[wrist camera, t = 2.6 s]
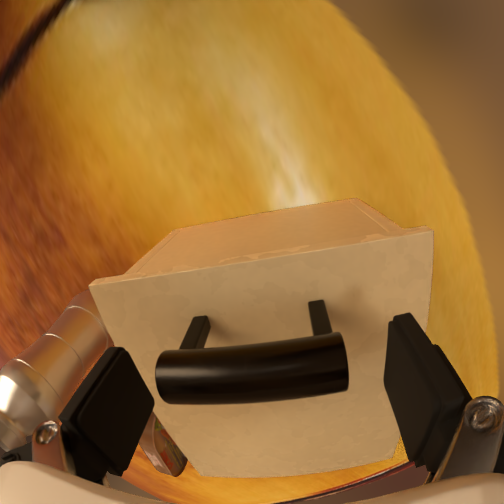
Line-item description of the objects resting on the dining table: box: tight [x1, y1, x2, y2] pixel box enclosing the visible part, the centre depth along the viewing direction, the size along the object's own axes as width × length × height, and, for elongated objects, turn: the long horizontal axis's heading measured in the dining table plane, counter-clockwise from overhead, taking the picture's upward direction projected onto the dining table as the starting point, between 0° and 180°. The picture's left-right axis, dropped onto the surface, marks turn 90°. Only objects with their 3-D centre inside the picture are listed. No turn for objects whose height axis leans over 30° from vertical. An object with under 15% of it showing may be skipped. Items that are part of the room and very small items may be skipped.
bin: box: [124, 198, 403, 275], centre depth 21 cm, size 18×16×12 cm
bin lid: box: [88, 226, 434, 478], centre depth 13 cm, size 19×16×5 cm
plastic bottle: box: [0, 289, 114, 452], centre depth 19 cm, size 6×7×20 cm
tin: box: [139, 411, 188, 477], centre depth 30 cm, size 15×3×8 cm, turn 2°
